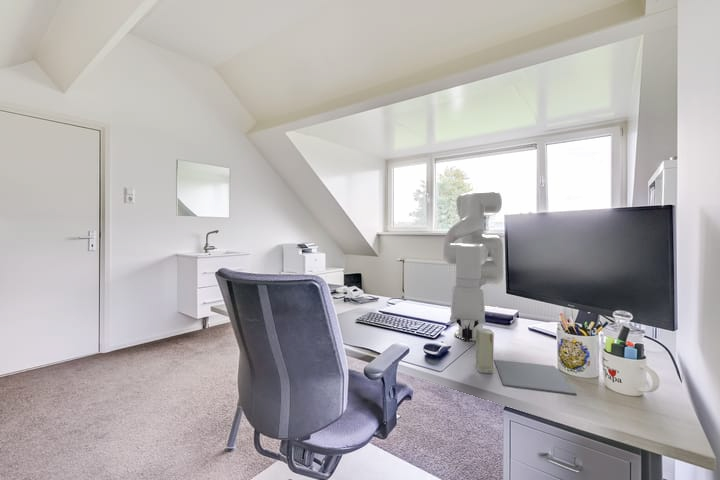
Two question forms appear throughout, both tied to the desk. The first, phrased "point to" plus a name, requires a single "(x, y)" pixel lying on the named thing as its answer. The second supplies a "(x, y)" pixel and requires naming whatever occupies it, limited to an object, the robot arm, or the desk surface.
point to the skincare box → (484, 350)
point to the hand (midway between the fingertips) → (467, 340)
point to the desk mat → (532, 376)
